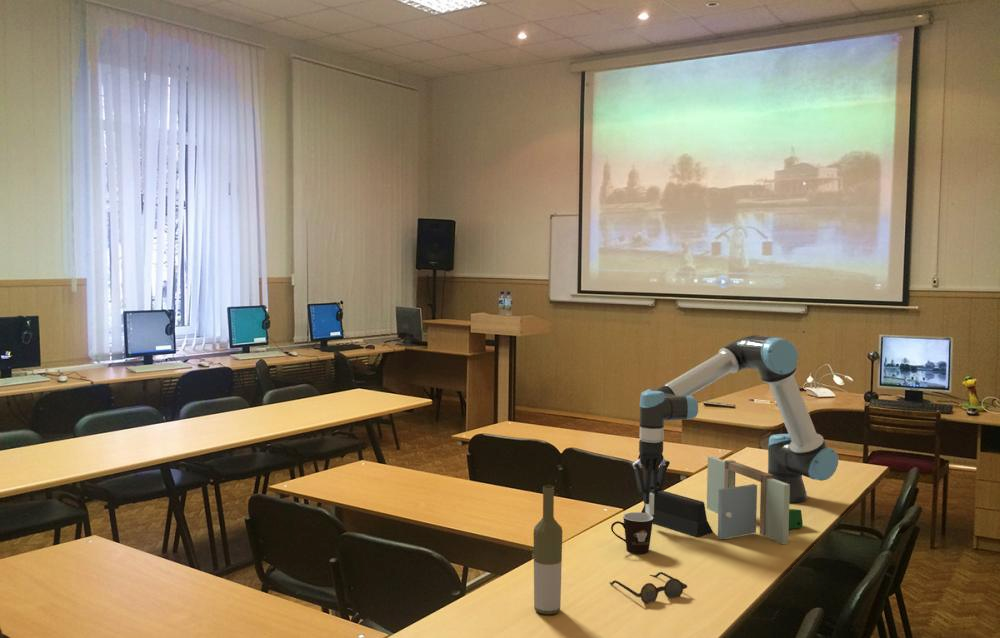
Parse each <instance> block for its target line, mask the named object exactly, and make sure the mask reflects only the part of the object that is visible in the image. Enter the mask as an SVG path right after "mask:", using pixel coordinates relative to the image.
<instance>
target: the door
mask: <svg viewBox="0 0 1000 638" xmlns="http://www.w3.org/2000/svg"><path fill="white" fill-rule="evenodd" d="M757 500H758V485H757V484H746V485H738V486H735V487H731V488H724V489H719V502H718V513H717V514H718V515H717V539H720V540H723V539H729V538H735V537H740V536H741V537H742V536H746V535H751V534H756V533H757V509H758V508H757V507H758V506H757V502H758V501H757Z"/></svg>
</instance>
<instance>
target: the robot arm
mask: <svg viewBox="0 0 1000 638" xmlns="http://www.w3.org/2000/svg"><path fill="white" fill-rule="evenodd" d="M798 360H799V353H798V350H797V348H796V347H795V345H794V344H793V343H792V342H791V341H790V340H787V339H785V338H781V337H778V336H763V335H755V334H753V335H747V336H744V337H741V338H739V339H736V340H734V341H733V342H731V343H729V344H727V345H725V346H724V347H722V348H720V349H719V350H718V353H716V354H715V355H714V356H712V357H710V358H708V359H707V360H705V361H703V362H702V363H700V364H698V365H697V366H694V367H693V368H691V369H689V370H688V371H686V372H685V373H683V374H681V375H680V376H677V377H676V378H674V379H672V380H671V381H668V382H667V383H665V384H663V385H662V386H660V387H658V388H656V389H653V388H650V389H646V390H644V391H642V392H641V393H640V397H639V398H640V399H639V433H638V434H639V441H638V452H639V455H638V456H637V460H635V462H634V461H632V462H631V467H632V468H633V470H634V476H635V480H636V481H635V482H636V487H637V490H638V492H640V493H643V503H644V504H645V513H647V514H649V515H654V503H656V494H658V493H659V491H663V486H664V483H665V480H666V474H667V469H668V468H669V466H670V464H671V462H670V461H669V460H667V459H665V458H664V454H663V452H664V441H663V440H664V438H665V437H664V433H665V432H664V431H665V430H664V429H665V427H664V426H665V422H666V421H667V422H668V421H687V420H692V419H695V418H696V417H697V416H698V414H699V403H698V401H697V399H696V398H695V396H692V395H695V393H697V392H699V391H701V390H702V389H704V388H706V387H708V386H709V385H711V384H713V383H714V382H716V381H718V380H720V379H721V378H723V377H725V376H726V375H728V374H730V373H731V374H736V373H737V372H739V371H742V370H747V369H751V370H757V372H758V373H759V376H760V378H761V380H762V381H763V382H764V383H766V384H768V386H769V389H770V391H771V394H772V396H773V398H774V399H773V400H775V403H776V405H777V408H778V410H779V413H780V416H781V418H782V421H783V423H784V426H785V428H786V431H787V433H778V434H773V435H770V437H769V439H768V445H767V449H768V451H767V455H768V456H767V459H768V460H767V473H770V474H772V475H773V479H776V480H779V481H781V482H784V483H787V484H790V497H789V504H790V503H802V502H805V501H807V495H808V493H807V490H806V487H805V484H804V483H805V482H804V481H803V476H804V477H806V478H808V479H811V480H817V481H821V482H823V481H827V480H829V479H830V478H831V477H832V476H834V474H835V473H836V471H837V468H838V466H839V455H838V453H837V452H836V451H835V449H833V448H831V447H828V446H827V444H826V442H825V439H824V436H822V434H819V433H818V432H817V431H816V428H815V425H814V424H813V421H812V418H811V416H810V413H809V411H808V409H807V406H806V404H805V400H804V397H803V396H802V393H801V390H800V388H799V385H798V383H797V381H796V377H795V375H796V373H797V365H798V363H799V362H798ZM650 491H651V492H650Z"/></svg>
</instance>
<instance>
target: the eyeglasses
mask: <svg viewBox="0 0 1000 638" xmlns="http://www.w3.org/2000/svg"><path fill="white" fill-rule="evenodd" d="M660 575H662V576H665V577H666V578H668V580H667V581H666V583H665V584H664V585H663V586H658V587H657V586H656V585H655V584H654V583H651V582H647V583H645V584H643V585H642V586H641V589H640V592H639V593H638V592H636V591H635V590H633V589H631V588H630V587H628V586H627V585H625V584H624V583H621V582H620V581H618V580H615V579H614V580H613V581H612V582H611V581H609V582H608V583H609V584H610V586H614V584H617V585H619V586H621V587H622V588H623V589H625V590H626V591H628V592H629V593H630V594H632V595H634V596H635V597H637V598H640V600H641V601H642V603H643V604H644V605H646V604H650V603H654V602H656V600H657V598H658V594H659V592H663V593H664V595H665V596H666V597H667V598H668V599H674V598H680V597H681V595H683V592H684V590H685V589H687V588H688V584H685V583H684V582H682V581H680V579H678V578H674V577H673V576H671V575H669V574H667V573H665V572H662V571H660V572H658V573H656V574H649V576H650V577H653V578H658V577H659V576H660Z"/></svg>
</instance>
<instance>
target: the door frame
mask: <svg viewBox="0 0 1000 638" xmlns="http://www.w3.org/2000/svg"><path fill="white" fill-rule="evenodd" d="M706 474H707V475H706V477H707V478H706V479H707V480H706V481H707V482H706V509H707V510H710V511H712V512H714V513H716V514H718V502H719V489H724V488H731V487H736V474H738V475H741V476H743V477H744V476H745V477H747V478H749V479H751V480H755V481H757V482H760V503H759V504H760V505H759V507H760V508H759V535H762V536H763V537H766V538H769V539H771V540H773V541H775V542H777V543H779V544H782V545H788V544H789V530H790V529H789V509H790V503H789V497H790V484H787V483H784V482H781V481H779V480H776V479H773V475H772V474H770V473H768V472H764V471H762V470H759V469H757V468H753V467H752V466H748V465H745V464H743V463H739V462H737V461H736V460H733V459H729V460H724V459H722V458H718V457H715V456H707V473H706Z"/></svg>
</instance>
